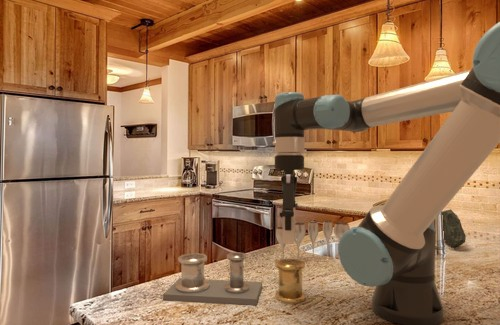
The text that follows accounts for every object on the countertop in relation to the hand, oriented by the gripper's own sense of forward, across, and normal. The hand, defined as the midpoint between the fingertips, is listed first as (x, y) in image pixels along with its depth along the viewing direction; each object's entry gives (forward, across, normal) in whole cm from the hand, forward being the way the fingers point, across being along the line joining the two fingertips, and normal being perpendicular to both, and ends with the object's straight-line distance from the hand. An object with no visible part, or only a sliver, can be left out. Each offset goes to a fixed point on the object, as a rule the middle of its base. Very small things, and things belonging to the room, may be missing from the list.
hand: (289, 237), depth 91 cm
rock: (+16, -60, +61) cm, 87 cm away
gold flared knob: (+16, 0, 0) cm, 16 cm away
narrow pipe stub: (+14, 0, -14) cm, 20 cm away
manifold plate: (+16, 0, -20) cm, 25 cm away
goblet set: (+16, -35, +7) cm, 39 cm away
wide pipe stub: (+14, 0, -26) cm, 29 cm away
